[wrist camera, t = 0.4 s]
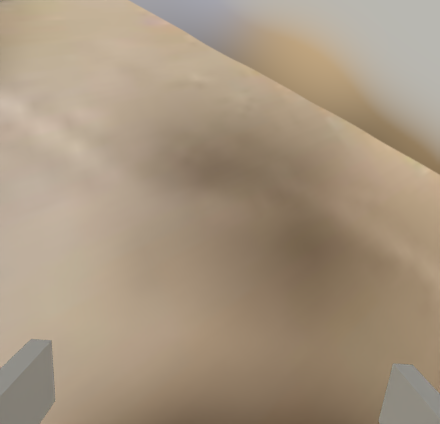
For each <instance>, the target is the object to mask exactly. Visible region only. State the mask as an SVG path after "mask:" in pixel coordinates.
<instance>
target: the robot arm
mask: <svg viewBox="0 0 440 424" xmlns="http://www.w3.org/2000/svg"><path fill="white" fill-rule="evenodd" d="M54 402H55V387H54V372H53V356H52V340H37V339H31V340H30V341H29V342H27V343H26V344H25V345H24V346H23V347H22V348H21V349H20V350H19V351H18V352H17V353H16V354H15V355H14V356H13V357H12V358H11V359H10V360H9V361H8V362H7V363H6V364H5V365H4V366H3V367H2V368H1V369H0V424H40V423H41V421H42V420H43V418H44V417H45V415H46V414H47V412H48V411H49V409H50V408H51V406H52V405H53V403H54ZM378 421H379V423H380V424H440V394H439V393H438V391H437V390H436V389H435V388H434V387H433V386H432V385H431V384H430V383H429V382H428V381H427V380H426V379H425V378H424V377H423V375H422V374H421V373H420V372H419V371H418V370H417V369H416V368H415V367H414V366H413V365H408V364H394V363H393V366H392V370H391V374H390V378H389V382H388V385H387V389H386V393H385V397H384V401H383V405H382V409H381V413H380V416H379V420H378Z"/></svg>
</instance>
